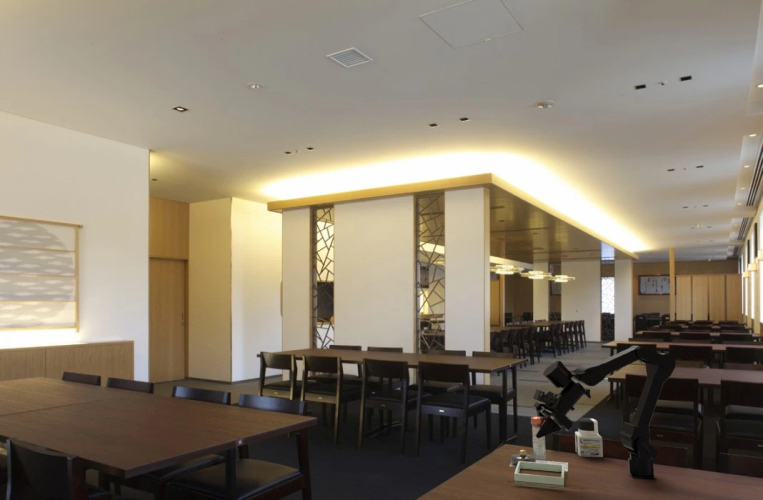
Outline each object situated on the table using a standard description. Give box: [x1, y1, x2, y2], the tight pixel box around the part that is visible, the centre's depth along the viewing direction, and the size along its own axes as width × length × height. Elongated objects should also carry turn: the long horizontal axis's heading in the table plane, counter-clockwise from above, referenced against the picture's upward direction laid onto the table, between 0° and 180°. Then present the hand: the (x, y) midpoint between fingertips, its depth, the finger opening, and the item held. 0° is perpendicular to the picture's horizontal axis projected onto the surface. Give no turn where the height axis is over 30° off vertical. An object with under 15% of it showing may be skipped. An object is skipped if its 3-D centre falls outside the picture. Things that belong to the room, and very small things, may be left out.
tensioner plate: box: [509, 449, 569, 472], centre depth 178 cm, size 18×10×5 cm, turn 71°
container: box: [574, 417, 604, 458], centre depth 191 cm, size 8×8×13 cm
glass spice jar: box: [530, 415, 547, 460], centre depth 167 cm, size 4×4×12 cm
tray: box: [513, 461, 565, 490], centre depth 165 cm, size 14×14×3 cm
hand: (534, 435), depth 167 cm, fingers closed on glass spice jar, 4 cm apart
